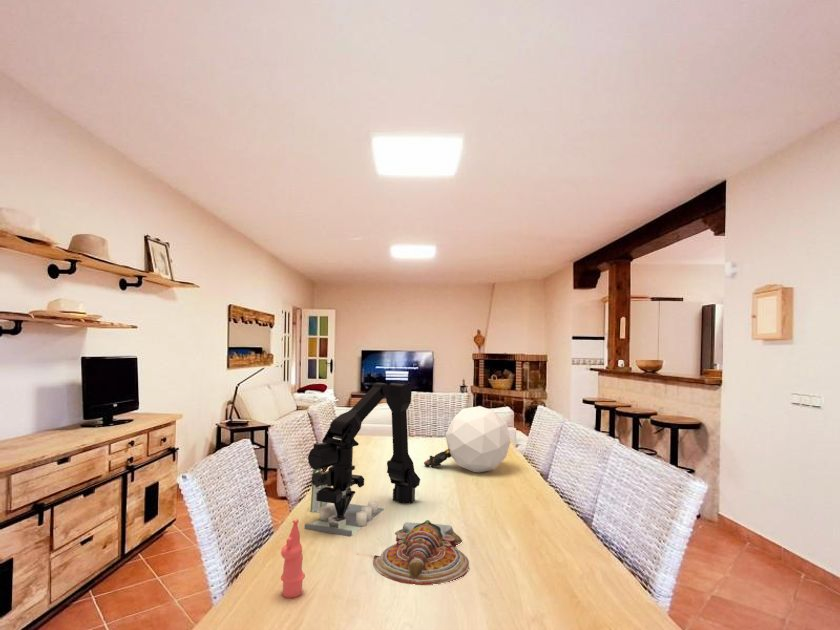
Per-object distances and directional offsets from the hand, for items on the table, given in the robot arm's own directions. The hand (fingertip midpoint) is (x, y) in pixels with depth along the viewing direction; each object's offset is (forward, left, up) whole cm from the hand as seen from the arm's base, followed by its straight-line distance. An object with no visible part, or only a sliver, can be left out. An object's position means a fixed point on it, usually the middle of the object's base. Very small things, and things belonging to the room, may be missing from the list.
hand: (340, 518), depth 139 cm
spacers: (0, -6, -1) cm, 6 cm away
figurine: (-8, +37, -3) cm, 38 cm away
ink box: (+11, -8, -3) cm, 14 cm away
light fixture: (-19, -79, -3) cm, 81 cm away
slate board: (0, -5, -2) cm, 5 cm away
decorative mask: (-28, +9, -3) cm, 30 cm away
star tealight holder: (-1, +3, -1) cm, 3 cm away
